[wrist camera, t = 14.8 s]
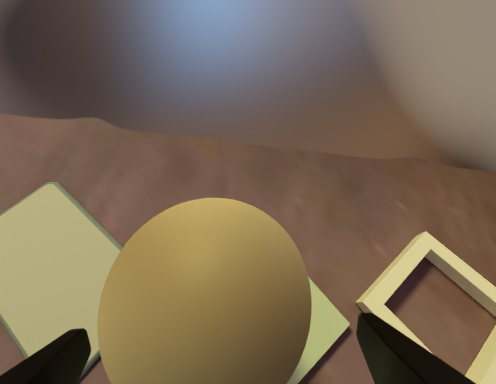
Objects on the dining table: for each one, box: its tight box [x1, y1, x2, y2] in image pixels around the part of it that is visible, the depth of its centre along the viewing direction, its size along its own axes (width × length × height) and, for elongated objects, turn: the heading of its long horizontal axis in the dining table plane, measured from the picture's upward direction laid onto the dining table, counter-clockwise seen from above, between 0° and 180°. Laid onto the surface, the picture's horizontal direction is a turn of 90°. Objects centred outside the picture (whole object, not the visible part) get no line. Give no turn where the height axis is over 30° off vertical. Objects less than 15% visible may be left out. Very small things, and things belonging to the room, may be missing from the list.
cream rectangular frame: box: [356, 231, 496, 384], centre depth 16 cm, size 8×8×1 cm
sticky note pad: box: [0, 182, 123, 380], centre depth 18 cm, size 8×1×15 cm
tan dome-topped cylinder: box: [97, 198, 312, 384], centre depth 10 cm, size 4×4×13 cm
